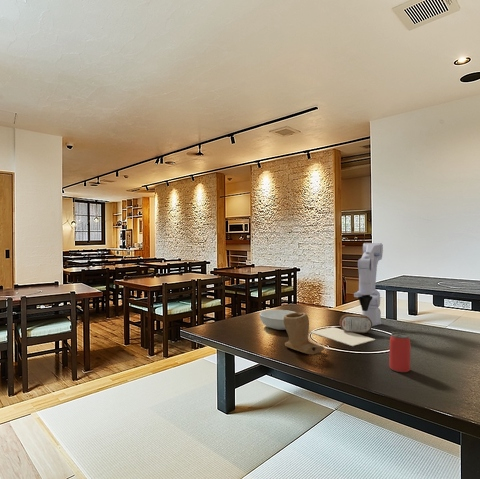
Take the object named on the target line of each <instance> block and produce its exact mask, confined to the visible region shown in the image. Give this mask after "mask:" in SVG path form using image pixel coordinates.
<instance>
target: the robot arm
mask: <svg viewBox="0 0 480 479" xmlns="http://www.w3.org/2000/svg"><path fill="white" fill-rule="evenodd" d="M383 245H384V244H383V242H380V243H379V242H364V243H363V244H362V253H363V254H362V255H361V258H359V259H358V260H357V269H358V290H357V291H356V292H354V293H353V297H354V298H357V299H358V301H359V305H360V308H361V310H362V311H361V312H362V313H361V315H365V316H367V317H369V318H370V320H371V321H372V327H374V326H379V325H383V322H381V319H382V318H381V317H382V315H381V314H382V313H381V312H382V311H381V309H380V307H381V306H380V305H381V293H380V291H379V290H377V289H376V284H377V283H376V282H377V271H378V265H379V262H380V260H382V259H383V253H384V246H383Z"/></svg>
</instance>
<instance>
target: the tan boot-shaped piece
mask: <svg viewBox="0 0 480 479" xmlns="http://www.w3.org/2000/svg"><path fill="white" fill-rule="evenodd" d="M293 312H294V313H290V314H287V315H285V316H284V325H285V328H286V330H285V331H286V333H287V336H288V340H287V341H286V342H284V345H285V347H287V348H289V349H292V350H294V351H297V352H301V353H303V354H307V355H316V354H319V353H321V352H323V351H324V350H325V347H324V346H322V345H319V344H317V343H315V342H312V341H310V340H309V330H310V320H309V316H308V314H307V313H306V312H299V311H293Z"/></svg>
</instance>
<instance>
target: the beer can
mask: <svg viewBox="0 0 480 479" xmlns="http://www.w3.org/2000/svg"><path fill="white" fill-rule="evenodd" d="M411 348H412V347H411V340H410V335H408V334H407V333H406V334H405V333H402V332H393V333H391V334H390V337H389V354H388V355H389V358H388V359H389V361H388V362H389V363H388V366H389V369H390V370H392V371H394V372H397V373H409V372H410V370H411Z"/></svg>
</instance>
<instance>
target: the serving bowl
mask: <svg viewBox="0 0 480 479" xmlns="http://www.w3.org/2000/svg"><path fill="white" fill-rule="evenodd" d="M294 312H295V311H292V310H287V309H286V310H285V309H267V310H262V311H260V312H259V319H260V321H261V323H262V324H263V325H264V326H265V327H267V328H270V329H273V330H278V331H283V330H285V331H286V328H285V325H284V316H285V315H287V314H290V313H294Z"/></svg>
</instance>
